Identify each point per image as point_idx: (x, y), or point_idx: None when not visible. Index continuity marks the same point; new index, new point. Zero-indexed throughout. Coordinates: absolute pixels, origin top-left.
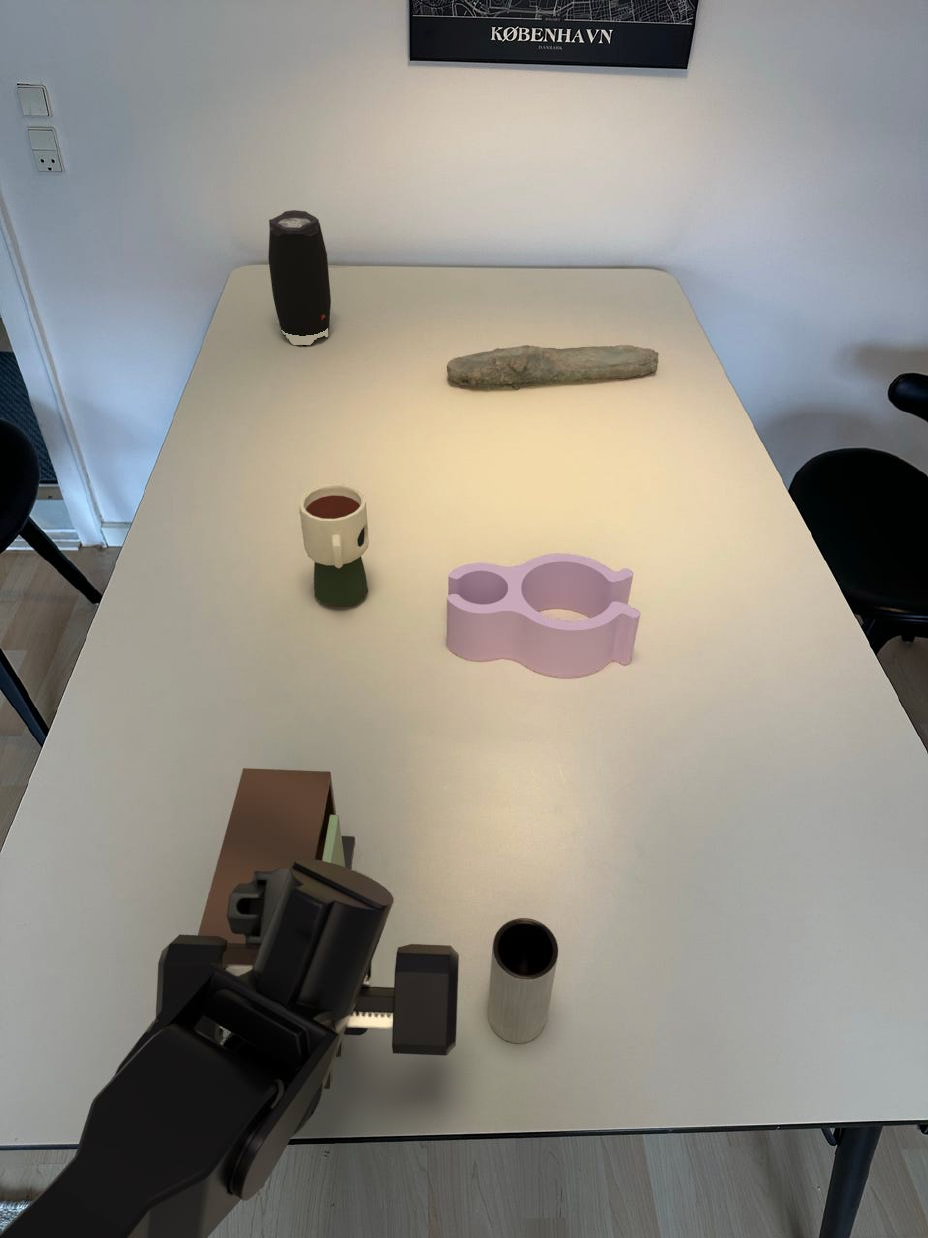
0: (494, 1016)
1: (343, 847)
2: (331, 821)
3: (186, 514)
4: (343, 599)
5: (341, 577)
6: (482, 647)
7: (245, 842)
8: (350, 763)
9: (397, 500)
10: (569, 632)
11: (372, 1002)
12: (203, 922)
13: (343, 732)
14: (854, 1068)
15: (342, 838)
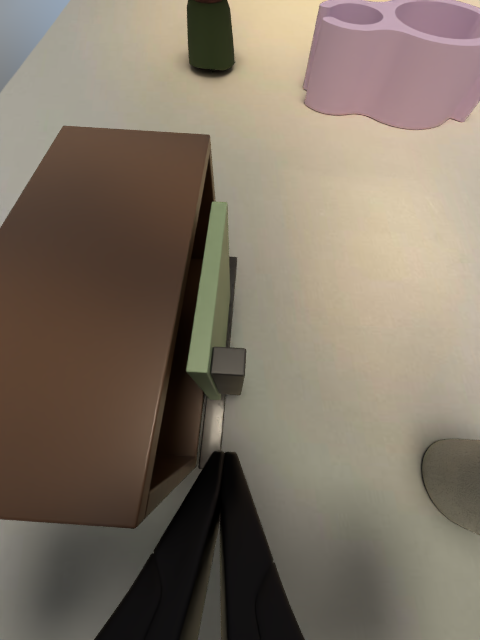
0: (475, 522)
1: None
2: (215, 211)
3: (89, 16)
4: (214, 59)
5: (212, 24)
6: (344, 93)
7: (40, 239)
8: (227, 190)
9: (251, 15)
10: (458, 50)
11: None
12: None
13: (219, 164)
14: None
15: None
